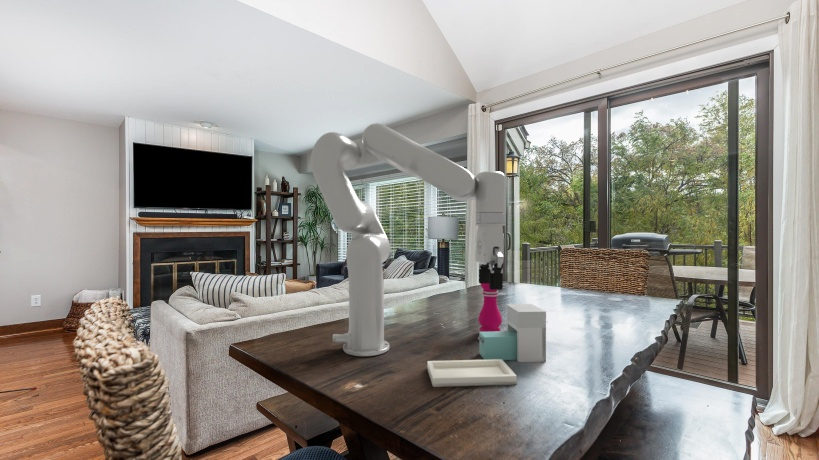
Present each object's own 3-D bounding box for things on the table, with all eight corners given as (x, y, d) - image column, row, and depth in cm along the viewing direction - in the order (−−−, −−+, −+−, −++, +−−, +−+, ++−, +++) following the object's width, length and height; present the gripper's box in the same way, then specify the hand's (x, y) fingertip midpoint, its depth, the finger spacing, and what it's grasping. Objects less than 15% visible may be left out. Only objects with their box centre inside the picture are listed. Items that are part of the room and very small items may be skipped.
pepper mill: (500, 330, 120) (500, 268, 119) (503, 337, 112) (503, 271, 112) (477, 330, 120) (477, 268, 120) (479, 336, 113) (479, 271, 113)
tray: (432, 386, 78) (432, 378, 78) (427, 368, 88) (427, 361, 88) (516, 384, 79) (516, 375, 79) (501, 366, 89) (501, 359, 89)
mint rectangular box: (482, 361, 93) (482, 335, 93) (477, 354, 98) (477, 329, 98) (534, 359, 94) (534, 333, 94) (527, 353, 99) (527, 328, 99)
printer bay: (518, 362, 92) (518, 311, 92) (506, 350, 101) (506, 304, 101) (545, 361, 92) (546, 311, 92) (531, 349, 101) (531, 303, 101)
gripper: (468, 220, 104) (467, 281, 104) (485, 219, 87) (485, 292, 87) (494, 220, 105) (494, 281, 105) (516, 219, 87) (516, 292, 88)
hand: (490, 286), depth 96 cm, fingers open, 9 cm apart
